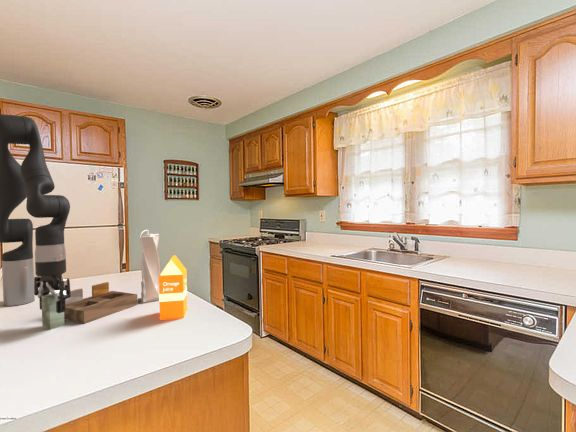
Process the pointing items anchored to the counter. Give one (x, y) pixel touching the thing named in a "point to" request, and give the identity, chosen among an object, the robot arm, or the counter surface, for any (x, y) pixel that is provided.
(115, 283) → the counter surface
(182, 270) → the orange juice
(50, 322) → the green plug
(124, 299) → the socket block
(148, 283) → the skyscraper
